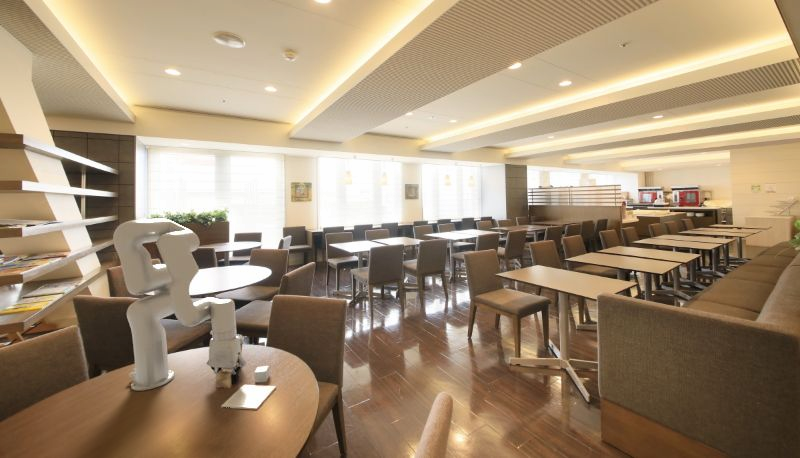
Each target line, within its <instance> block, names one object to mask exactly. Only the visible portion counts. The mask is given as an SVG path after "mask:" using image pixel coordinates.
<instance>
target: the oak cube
mask: <svg viewBox="0 0 800 458" xmlns="http://www.w3.org/2000/svg"><path fill="white" fill-rule="evenodd" d="M235 369H236V368H235ZM231 375H232V371H231V368H222V370H220V371H219V372H218V373H216V374H215V381H216V382H215V383H216V388H219V387H224V388H223V389H230V388H232V387H233V386H232V384H231ZM231 386H232V387H231ZM226 387H227V388H226Z"/></svg>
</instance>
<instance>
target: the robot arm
mask: <svg viewBox="0 0 800 458" xmlns="http://www.w3.org/2000/svg"><path fill="white" fill-rule="evenodd" d="M112 236H113V238H112V243H113V245H114V248H115V250H116V253H117V255H118V257H119V260H120V265H121V269H122V274H123V280H124V283H125V286H126V289H127V292H129V294H130V295H134V296H141V295H146V294H148V293H154V294H153V295H152V294H151V295H148V296H145V297H142V298H139V299H137V300H135V301H134V302H132V303H131V304H130V305H128V308H127V310H126V319H127V321H128V323H129V327H130V330H131V335H132V337H131V338H132V344H133V346H132V347H133V355H134V366H135V367H134V368H132V370H131V372H129V373H128V377H129V378H133V379H134V380H133V381H132V382H131V385H130V386H131V390H133V391H139V392H140V391H141V392H142V391H147V390H148V391H149V390H152V389H155V388H156V389H157V388H158V387H162V386H163V385H165V384H168V383H169V382H170V381H171V380H172V379H174V377H175V372H174V371H173V370H171V369H169V359H168V358H169V357H168V346H167V344H168V343H167V332H166V329H165V328H164V326H163V324H162V323H161V322H160V320H162V319H163V318H166V317H169V316H171V315H173V314H174V315H175V317H176V319H177V320H178V322H179V323H180V324H181V325H183V326H185V327H189V328H190V327H195V326H197V325H200V324H201V323H203V322H205V321H207V320H209V319H211V330H210V332H209V334H210V335H212V336H211V337H212V338H211V339H210V341H209V347H208V360H207V362H206V366H207V365H208V367H210V368H211V370H213V373H214V374H215V375H216V373H218V372H219V371H220V370H222V369H223V368H231V371H232V375H231V384H232V385H233V386H235V385H236V384H237V383H238V382H239V380H240V375H239V371H240V370H241V369H243V367H245V366H246V365H247V361H246V360H245V359H244V358H243V353H242V352H243V351H242V352H241V346H240V341H239V338H238V336H237V334H238V333H237V321H236V306H235V305H236V304H235V301H234V299H231V298H216V297H211V296H209V297H208V296H207V297H204V298H201V299H199V300H196V301H194V302H193V300H192V297H191V295H190V285H191V283H192V281H193V280H194V277H195V276H196V275H197V274H198V273H199V271H200V268H199V265H198V264H197V261H196V260H195V258H194V255H193V253H192V252H195V251H196V250H198V249H199V247H200V244H201V243H200V238H199V236H198V235H197V234H196V233H195V232H194V231H193V230H191V229H189V228H187V227H184V226H182V225H180V224H179V223H176V222H174V221H172V220H170V219H166V218H141V219H140V218H139V219H132V220H128V221H124V222H122V223H121V224H119V225H118V226H117V227H116V228H115V231H114V232H113V235H112ZM154 242H156V247H157V249H158V252H159V254H160V256H161V258H162V260H163V263H157V264H153V262H152V257H151V253H150V252H149V251H148V250H147V248H146V247H144V245H143V244H147V243H154ZM238 363H240V365H238ZM235 368H236V369H235Z"/></svg>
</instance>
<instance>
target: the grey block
mask: <svg viewBox="0 0 800 458" xmlns="http://www.w3.org/2000/svg"><path fill="white" fill-rule="evenodd" d="M269 378H270V366H269V365H265V366H257V367H256V369H255V371H254V383H255V382H257V383H265V382H267V381H268V380H269ZM267 383H268V382H267Z"/></svg>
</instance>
